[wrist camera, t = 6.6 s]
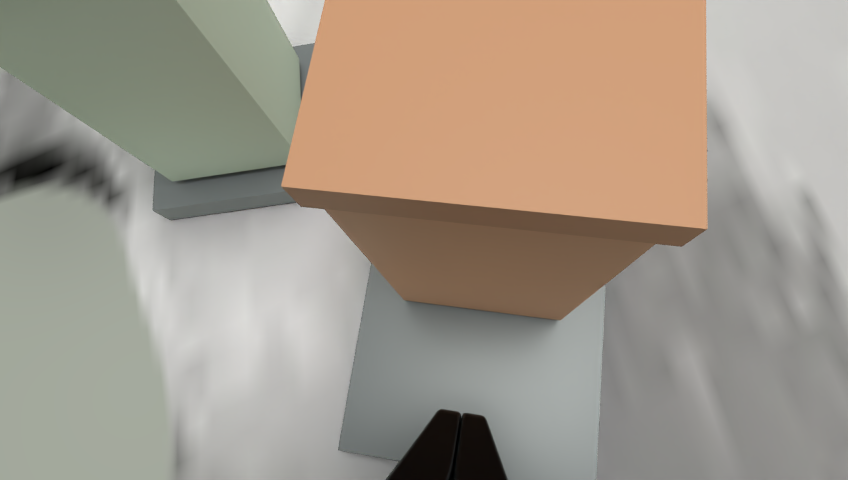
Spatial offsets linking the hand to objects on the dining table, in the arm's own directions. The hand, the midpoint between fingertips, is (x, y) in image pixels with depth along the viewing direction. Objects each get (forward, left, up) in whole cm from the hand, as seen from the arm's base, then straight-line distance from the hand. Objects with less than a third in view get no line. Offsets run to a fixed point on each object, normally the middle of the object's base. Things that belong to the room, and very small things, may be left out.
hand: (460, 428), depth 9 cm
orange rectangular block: (+5, +1, -5) cm, 7 cm away
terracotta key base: (+3, +1, -6) cm, 7 cm away
